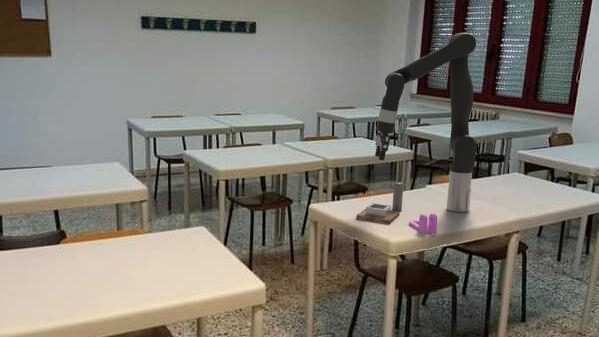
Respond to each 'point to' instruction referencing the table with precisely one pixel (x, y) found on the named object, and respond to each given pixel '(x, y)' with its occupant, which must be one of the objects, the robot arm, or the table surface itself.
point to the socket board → (378, 213)
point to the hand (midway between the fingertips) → (379, 158)
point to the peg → (397, 196)
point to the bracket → (425, 223)
